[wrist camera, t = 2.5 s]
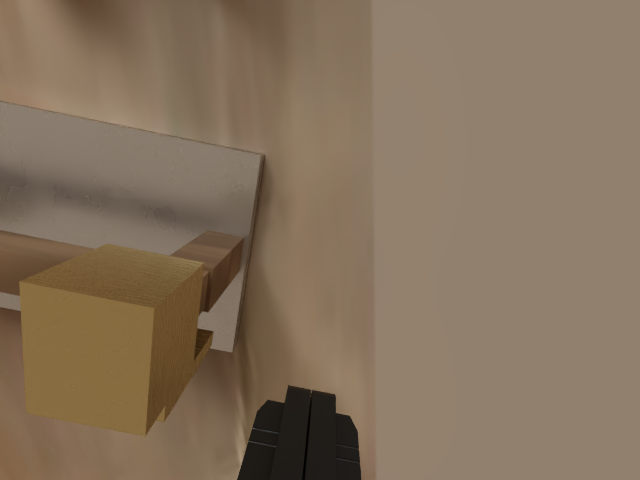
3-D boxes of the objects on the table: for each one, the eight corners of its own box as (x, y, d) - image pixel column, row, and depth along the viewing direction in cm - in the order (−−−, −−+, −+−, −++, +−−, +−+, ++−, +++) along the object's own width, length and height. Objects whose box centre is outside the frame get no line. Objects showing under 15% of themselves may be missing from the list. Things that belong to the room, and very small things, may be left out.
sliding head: (186, 209, 21) (19, 281, 10) (249, 221, 21) (154, 308, 10) (179, 291, 23) (27, 434, 11) (238, 302, 23) (144, 457, 12)
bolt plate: (-174, 65, 21) (-206, 60, 20) (264, 154, 22) (260, 155, 20) (-136, 269, 25) (-160, 276, 24) (236, 343, 25) (231, 353, 24)
